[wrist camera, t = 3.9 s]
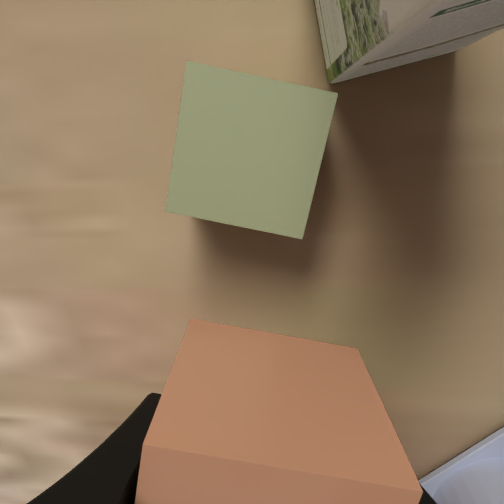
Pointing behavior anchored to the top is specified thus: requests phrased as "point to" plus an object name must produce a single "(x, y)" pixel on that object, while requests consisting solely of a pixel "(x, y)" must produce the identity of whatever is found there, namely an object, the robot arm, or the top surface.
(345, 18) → the syrup box
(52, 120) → the top surface
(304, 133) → the olive block
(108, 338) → the top surface
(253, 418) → the terracotta block
